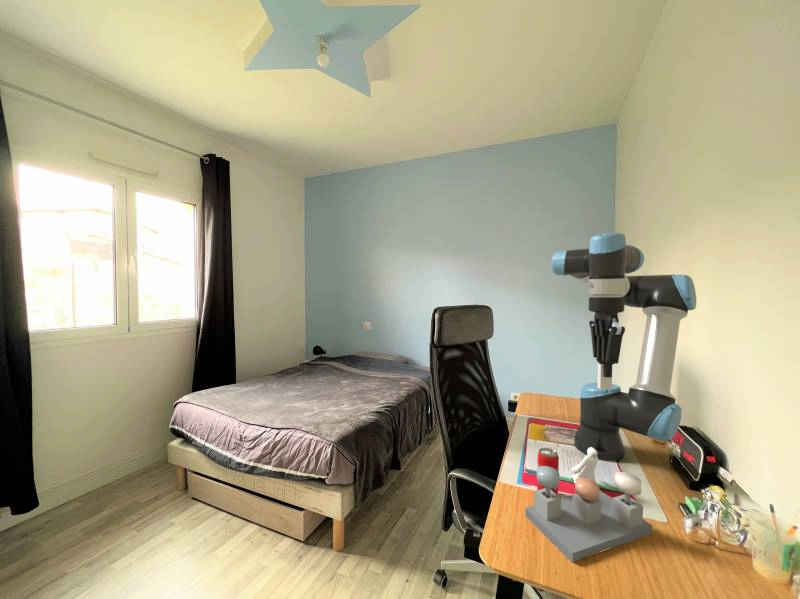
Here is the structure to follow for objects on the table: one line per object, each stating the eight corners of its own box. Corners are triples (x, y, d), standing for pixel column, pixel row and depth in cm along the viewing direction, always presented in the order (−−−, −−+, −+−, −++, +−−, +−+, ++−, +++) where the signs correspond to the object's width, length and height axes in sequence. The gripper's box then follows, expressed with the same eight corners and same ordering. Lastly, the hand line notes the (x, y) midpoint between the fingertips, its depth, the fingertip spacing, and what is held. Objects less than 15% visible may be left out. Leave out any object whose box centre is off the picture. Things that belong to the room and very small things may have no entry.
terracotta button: (585, 502, 78) (585, 475, 78) (603, 516, 73) (604, 488, 73) (569, 507, 76) (570, 479, 76) (587, 521, 72) (588, 492, 71)
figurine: (585, 495, 85) (586, 452, 85) (562, 478, 93) (563, 439, 92) (606, 489, 88) (607, 448, 87) (581, 473, 95) (582, 435, 95)
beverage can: (560, 502, 82) (561, 458, 82) (539, 499, 83) (540, 456, 83) (554, 489, 88) (555, 448, 87) (535, 487, 89) (536, 446, 88)
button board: (596, 495, 85) (597, 472, 85) (652, 533, 72) (652, 506, 72) (525, 515, 78) (525, 490, 77) (572, 562, 64) (573, 532, 64)
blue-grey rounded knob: (547, 490, 79) (548, 464, 79) (563, 503, 74) (564, 475, 74) (531, 495, 77) (532, 468, 77) (547, 508, 73) (547, 479, 72)
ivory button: (624, 497, 76) (625, 470, 76) (645, 511, 72) (646, 482, 71) (609, 502, 75) (610, 474, 75) (630, 516, 70) (631, 486, 70)
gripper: (579, 295, 85) (578, 380, 86) (602, 297, 72) (601, 396, 73) (608, 295, 84) (607, 381, 85) (638, 297, 71) (636, 398, 72)
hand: (604, 388), depth 79 cm, fingers closed
